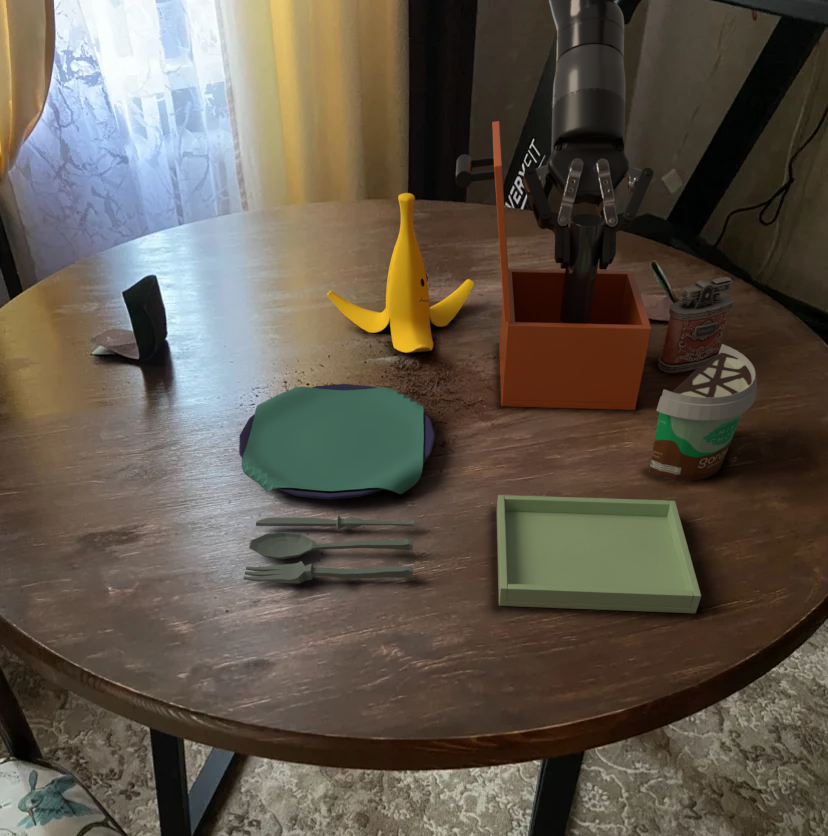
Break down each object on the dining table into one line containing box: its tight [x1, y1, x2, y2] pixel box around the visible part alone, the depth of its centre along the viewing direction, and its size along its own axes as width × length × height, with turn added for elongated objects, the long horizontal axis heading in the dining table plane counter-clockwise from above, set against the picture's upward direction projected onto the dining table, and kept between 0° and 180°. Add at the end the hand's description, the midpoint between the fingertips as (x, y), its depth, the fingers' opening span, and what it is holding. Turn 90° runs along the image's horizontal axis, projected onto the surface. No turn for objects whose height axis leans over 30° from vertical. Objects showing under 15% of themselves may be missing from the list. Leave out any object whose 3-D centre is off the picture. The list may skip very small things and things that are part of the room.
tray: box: [496, 494, 702, 614], centre depth 73 cm, size 16×12×2 cm
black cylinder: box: [560, 213, 604, 324], centre depth 90 cm, size 3×3×11 cm
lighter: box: [657, 276, 735, 374], centre depth 96 cm, size 8×3×10 cm, turn 114°
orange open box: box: [498, 268, 652, 411], centre depth 94 cm, size 15×14×10 cm
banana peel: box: [326, 192, 475, 354], centre depth 101 cm, size 16×19×17 cm
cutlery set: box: [238, 383, 436, 584], centre depth 82 cm, size 20×30×2 cm, turn 179°
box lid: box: [455, 120, 511, 322], centre depth 86 cm, size 15×14×4 cm
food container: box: [648, 343, 758, 482], centre depth 81 cm, size 12×6×10 cm, turn 137°
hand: (584, 265), depth 87 cm, fingers closed on black cylinder, 3 cm apart
